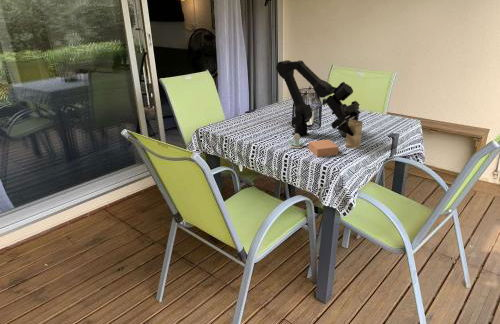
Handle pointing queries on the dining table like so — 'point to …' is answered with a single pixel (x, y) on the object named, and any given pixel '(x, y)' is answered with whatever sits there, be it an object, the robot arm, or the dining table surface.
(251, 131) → the dining table surface
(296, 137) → the pacifier
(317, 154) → the terracotta block
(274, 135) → the dining table surface
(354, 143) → the birch block
